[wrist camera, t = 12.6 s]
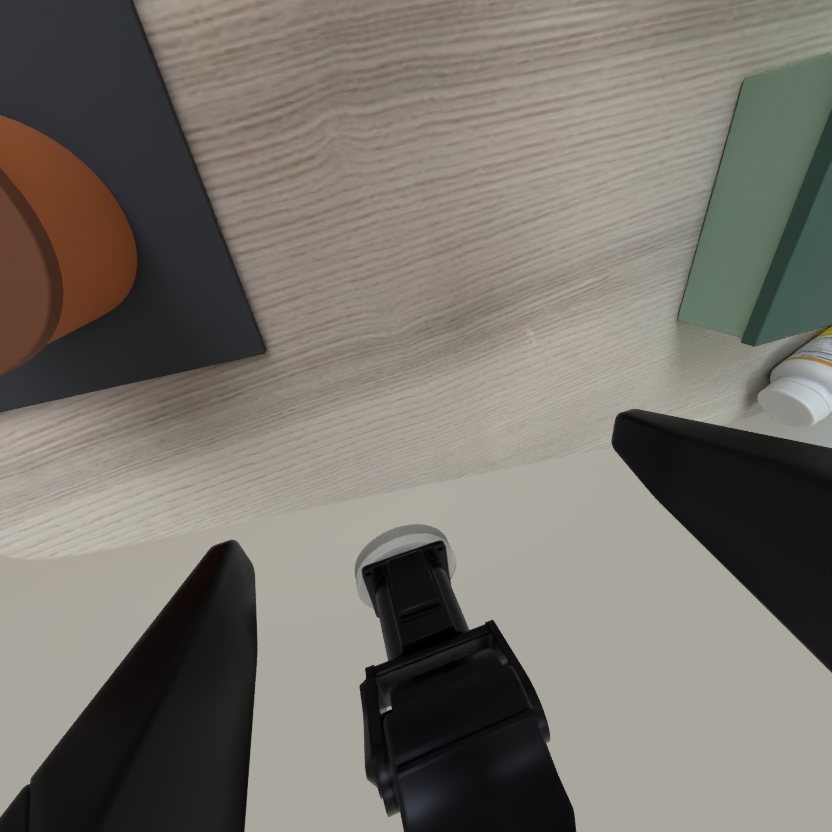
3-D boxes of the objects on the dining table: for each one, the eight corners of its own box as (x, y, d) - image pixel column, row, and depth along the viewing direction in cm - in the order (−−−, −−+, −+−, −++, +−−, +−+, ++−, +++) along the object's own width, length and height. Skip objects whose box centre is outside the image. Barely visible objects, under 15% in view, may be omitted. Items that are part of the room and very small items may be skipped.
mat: (266, 350, 17) (266, 353, 16) (-26, 414, 14) (-36, 420, 14) (121, -30, 10) (113, -41, 10) (-441, -14, 8) (-481, -26, 8)
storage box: (779, 296, 25) (875, 312, 21) (673, 323, 23) (754, 347, 19) (880, 58, 18) (1050, 12, 14) (741, 72, 17) (888, 26, 13)
